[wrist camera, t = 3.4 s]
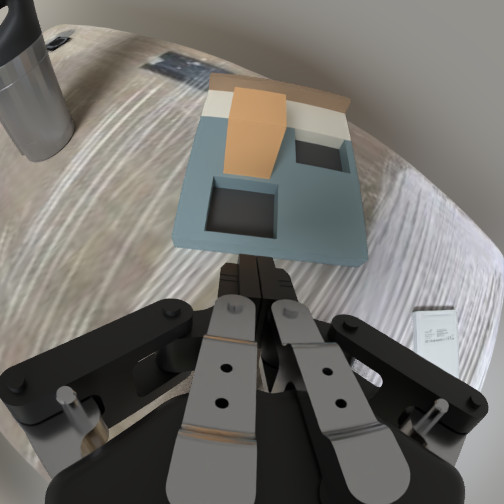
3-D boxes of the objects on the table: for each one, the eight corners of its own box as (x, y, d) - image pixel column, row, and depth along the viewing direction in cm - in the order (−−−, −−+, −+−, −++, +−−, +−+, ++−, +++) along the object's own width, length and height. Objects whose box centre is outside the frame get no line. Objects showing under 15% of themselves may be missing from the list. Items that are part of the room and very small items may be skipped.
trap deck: (174, 246, 28) (168, 225, 23) (209, 98, 37) (211, 72, 32) (357, 267, 30) (380, 251, 25) (338, 120, 39) (349, 98, 34)
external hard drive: (408, 412, 25) (409, 313, 30) (450, 399, 26) (450, 311, 30) (416, 413, 24) (417, 310, 28) (458, 399, 24) (458, 309, 29)
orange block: (223, 173, 29) (228, 118, 22) (228, 140, 31) (234, 86, 24) (269, 179, 30) (286, 126, 22) (270, 146, 31) (285, 94, 24)
